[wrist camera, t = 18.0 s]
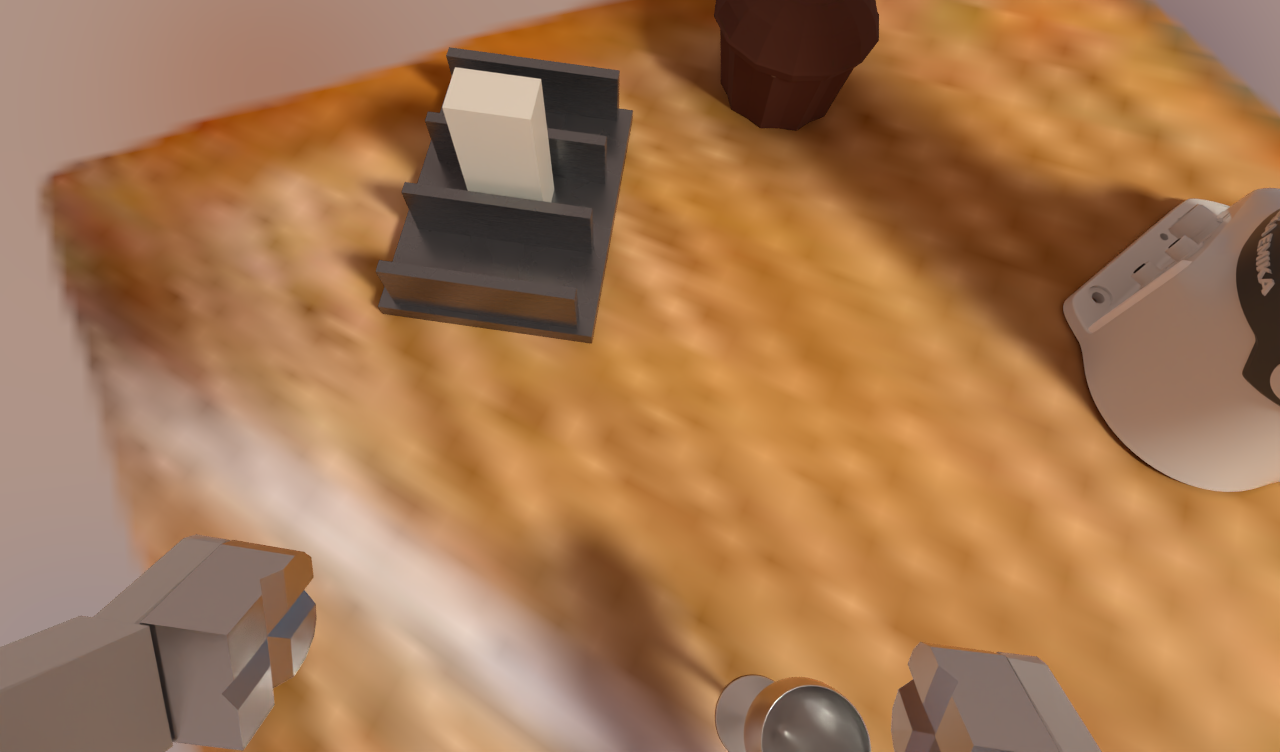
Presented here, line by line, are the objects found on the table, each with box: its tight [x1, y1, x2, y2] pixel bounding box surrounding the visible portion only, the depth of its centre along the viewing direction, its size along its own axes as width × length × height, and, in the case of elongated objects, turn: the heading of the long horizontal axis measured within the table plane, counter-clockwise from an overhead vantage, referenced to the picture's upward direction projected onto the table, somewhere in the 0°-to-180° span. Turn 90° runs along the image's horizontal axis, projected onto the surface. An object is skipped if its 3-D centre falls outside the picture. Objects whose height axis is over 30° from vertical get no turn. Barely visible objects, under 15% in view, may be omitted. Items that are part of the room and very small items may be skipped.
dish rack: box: [376, 47, 633, 343], centre depth 47 cm, size 19×14×5 cm
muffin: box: [714, 0, 879, 131], centre depth 50 cm, size 12×11×10 cm
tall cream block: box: [442, 67, 554, 202], centre depth 43 cm, size 3×5×10 cm, turn 82°
